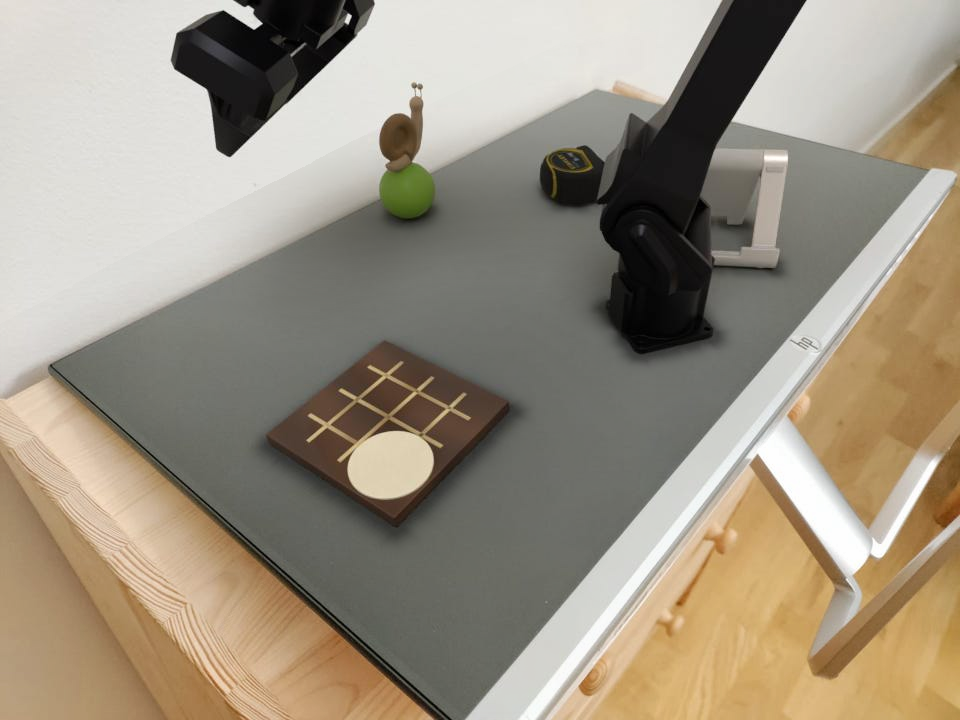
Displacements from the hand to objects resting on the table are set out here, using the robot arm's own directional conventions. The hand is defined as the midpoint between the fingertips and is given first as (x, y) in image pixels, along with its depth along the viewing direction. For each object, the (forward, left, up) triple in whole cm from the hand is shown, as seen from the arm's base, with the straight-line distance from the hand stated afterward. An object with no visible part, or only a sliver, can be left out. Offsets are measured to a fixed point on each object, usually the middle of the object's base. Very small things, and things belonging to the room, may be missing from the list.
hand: (253, 125), depth 53 cm
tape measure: (-29, -7, -15) cm, 34 cm away
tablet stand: (-37, +7, -15) cm, 41 cm away
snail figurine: (-12, -9, -15) cm, 21 cm away
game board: (-5, +20, -15) cm, 25 cm away
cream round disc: (-4, +24, -15) cm, 28 cm away
